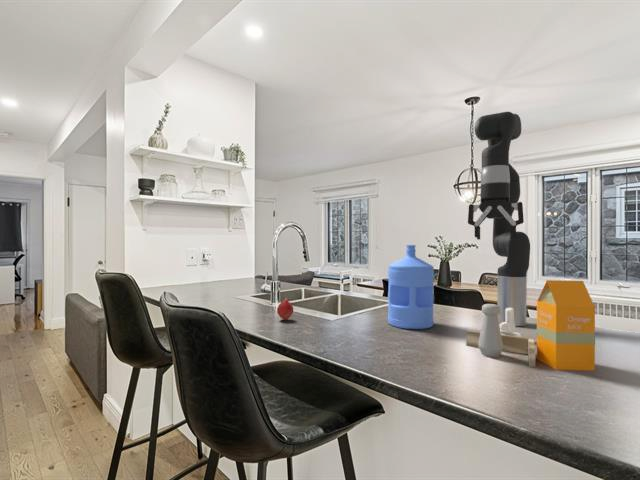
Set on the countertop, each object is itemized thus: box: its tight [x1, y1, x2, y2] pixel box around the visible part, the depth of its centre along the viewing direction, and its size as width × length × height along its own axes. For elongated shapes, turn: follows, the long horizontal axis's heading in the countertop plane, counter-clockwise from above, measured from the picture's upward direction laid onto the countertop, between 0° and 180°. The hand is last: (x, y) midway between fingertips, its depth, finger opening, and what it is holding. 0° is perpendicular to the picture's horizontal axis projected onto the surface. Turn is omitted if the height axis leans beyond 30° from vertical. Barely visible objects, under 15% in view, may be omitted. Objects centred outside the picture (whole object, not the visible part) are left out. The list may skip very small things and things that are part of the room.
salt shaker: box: [478, 303, 503, 358], centre depth 90 cm, size 6×6×13 cm
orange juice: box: [536, 279, 596, 371], centre depth 84 cm, size 8×9×20 cm
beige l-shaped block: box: [465, 329, 536, 368], centre depth 91 cm, size 12×16×4 cm
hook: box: [499, 308, 524, 337], centre depth 105 cm, size 8×12×7 cm
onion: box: [276, 298, 294, 321], centre depth 128 cm, size 6×6×8 cm
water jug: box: [387, 244, 435, 330], centre depth 124 cm, size 16×16×28 cm
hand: (494, 239), depth 101 cm, fingers open, 8 cm apart
